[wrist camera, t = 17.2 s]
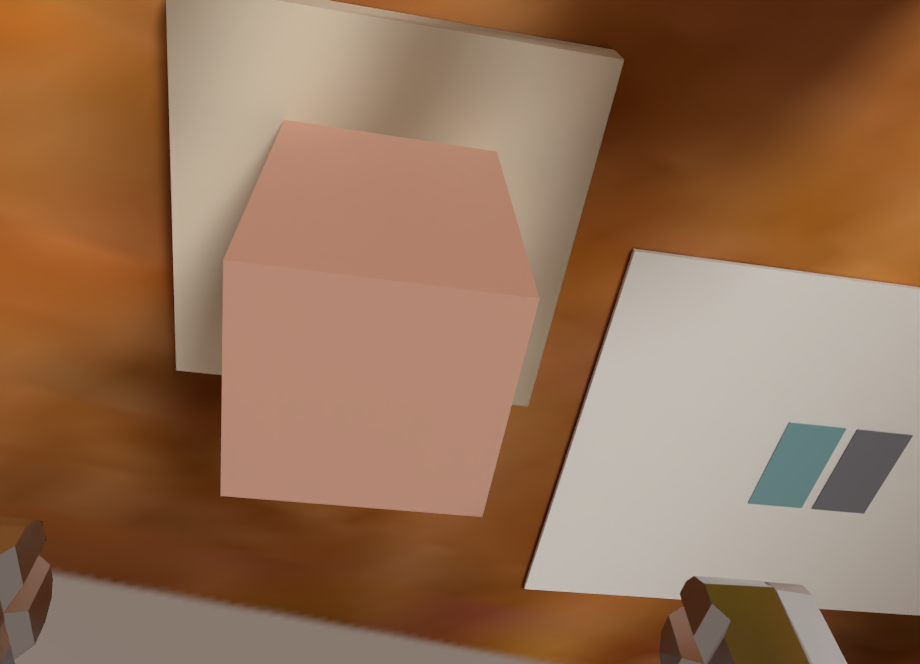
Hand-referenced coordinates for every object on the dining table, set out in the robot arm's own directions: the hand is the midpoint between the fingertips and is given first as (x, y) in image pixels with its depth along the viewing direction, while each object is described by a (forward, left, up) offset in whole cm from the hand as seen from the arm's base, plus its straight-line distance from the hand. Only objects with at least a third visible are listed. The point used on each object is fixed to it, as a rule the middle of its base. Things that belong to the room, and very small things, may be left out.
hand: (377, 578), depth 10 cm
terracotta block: (0, 0, -11) cm, 11 cm away
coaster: (0, 0, -12) cm, 12 cm away
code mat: (-16, +7, -12) cm, 21 cm away
